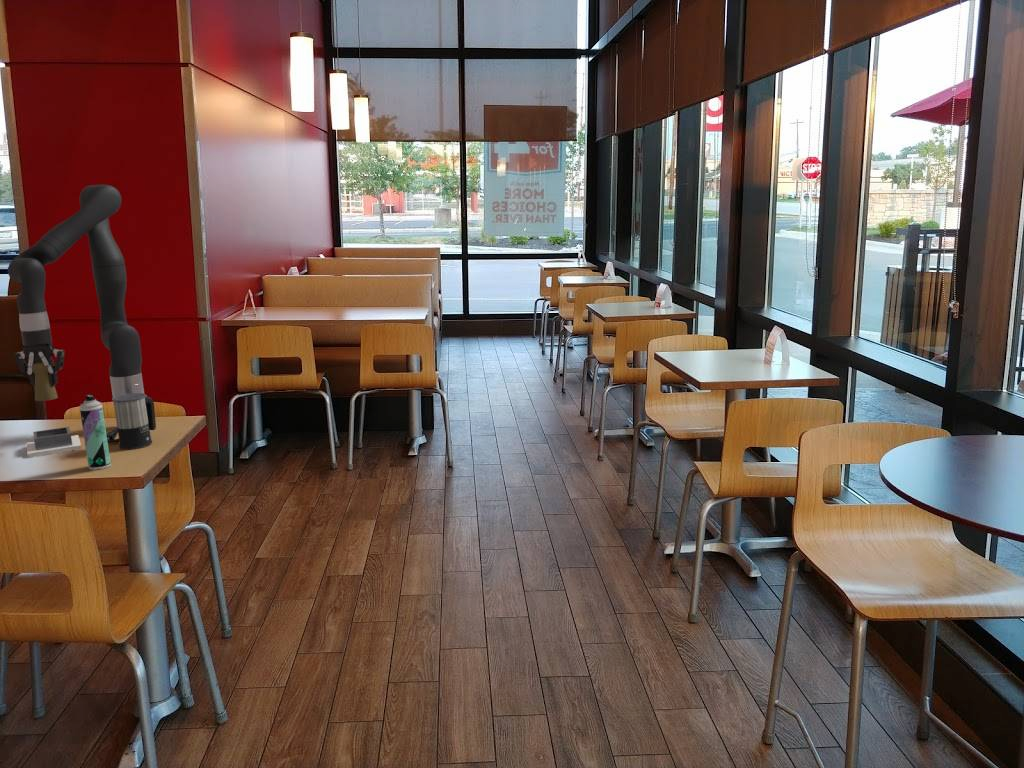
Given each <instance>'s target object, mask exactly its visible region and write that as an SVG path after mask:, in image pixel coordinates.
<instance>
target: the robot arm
mask: <svg viewBox="0 0 1024 768" xmlns="http://www.w3.org/2000/svg"><path fill="white" fill-rule="evenodd" d="M79 206H80V209H79V210H78V211H77V212H76V213H74V214H72V215H71V216H70V217H68V218H67V219H65V220H63V221H61V222H60V223H58V224H56V225H55V226H54V227H52V228H51V229H50V230H48V231H47V232H46V233H45V234H44V235H43V236H42V237H40V239H38V241H36V242H35V243H34V245H32V246H30V247H29V248H27V249H26V250H23V252H21V253H19V254H18V255H16V257H14V258H13V259H12V260H11V261H10V262H9V264H8V267H7V275H8V277H9V278H10V279H11V280H12V281H14V282H16V283H20V285H21V286H20V290H21V291H20V293H18V294H16V295H17V297H16V303H17V309H18V310H17V311H18V316H19V319H18V320H19V329H20V334H21V339H22V346H23V349H22V351H18V352H15V353H13V358H14V360H15V362H16V364H17V366H18V368H19V370H20V372H21V373H22V374H27V375H28V377H29V382H30V386H32V388H35V374H34V373H33V371H32V365H33V363H38V362H43V363H44V365H45V366H47V367H48V371H49V373H50V374H49V378H50V384H51V386H55V387H56V385H57V383H58V382H59V379H58V374H57V372H58V371H60V370H62V369H63V368H64V361H65V354H66V351H65V349H56V348H55V347H54V344H53V339H52V338H53V337H52V333H51V326H50V325H51V324H50V320H49V315H48V312H47V307H46V300H45V290H46V271H45V268H44V267H45V266H46V265H49V264H53V263H55V262H56V261H57V260H59V259H60V258H61V256H63V255H64V254H65V253H66V252H67V251H68V250H69V249H70V248H71V247H72V246H73V245H74V244H75V243H76V242H78V241H79V240H80V239H81V238H82V237H84V236H85V235H86V234H87V239H88V240H87V241H88V247H89V253H90V259H91V268H92V274H93V280H94V284H95V291H96V295H97V296H96V297H97V300H98V306H99V313H100V314H99V315H100V337H101V338H100V339H101V342H102V344H103V345H104V347H105V348H106V349H107V350H109V354H110V366H109V368H108V371H109V373H108V374H109V380H110V385H111V394H112V398H114V397H116V396H120V395H125V394H132V393H143V394H145V389H144V381H143V375H142V363H143V356H142V346H141V339H140V335H139V333H138V330H136V329H135V327H133V326H132V325H129V323H128V321H127V315H126V311H125V299H126V298H125V297H126V292H127V282H128V281H127V280H128V279H127V268H126V265H125V258H124V255H123V254H122V252H121V249H120V247H119V245H118V243H117V242H116V241H115V238H114V237H113V234H112V231H111V226H110V220H109V218H110V217H111V216H112V215H114V214H116V213H117V212H118V211H119V210H120V208H121V206H122V196H121V193H120V191H119V190H118V189H117V188H115V187H114V186H112V185H108V184H92V185H87V186H85V187H84V188H82V190H81V192H80V194H79ZM53 355H54V357H55V360H54V359H53ZM25 357H26V358H27V359H28V363H27V362H26V359H25ZM145 396H147V394H145ZM147 397H148V396H147ZM113 408H114V407H113ZM114 410H115V408H114ZM114 416H115V417H116V415H114ZM115 423H116V425H117V422H116V421H115Z"/></svg>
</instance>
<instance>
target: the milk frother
mask: <svg viewBox="0 0 1024 768" xmlns="http://www.w3.org/2000/svg"><path fill="white" fill-rule="evenodd" d="M145 395H146V394H145V393H144V394H143V393H132V394H125V395H120V396H116V397H114V398H113V397H112V399H111V400H112V402H113V408H115V409H114V413H115V415H116V416H115V415H114V416H115V423H116V422H117V424H116V427H117V428H114V429H112V430H110V431H108V432H106V435H107V442H108V444H118V448H119V449H121V450H136V449H141V448H145V447H148V446H150V445H152V444H153V440H152V436H151V431H155V430H156V427H157V424H156V423H157V422H156V421H157V420H156V412H155V403H154V400H153V398H152V397H150V396H145ZM117 436H118V438H116V437H117Z"/></svg>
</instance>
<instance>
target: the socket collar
mask: <svg viewBox="0 0 1024 768" xmlns="http://www.w3.org/2000/svg"><path fill="white" fill-rule="evenodd" d="M32 435H33V442H34V443H35V449H36V451H37V450H43V449H50V448H56V447H63V446H69V445H72V439H71V436H72V434H71V430H70V426H65V427H58V428H57V427H56V428H50V429H43V430H37V431H33V434H32Z"/></svg>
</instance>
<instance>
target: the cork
mask: <svg viewBox="0 0 1024 768" xmlns="http://www.w3.org/2000/svg"><path fill="white" fill-rule="evenodd" d="M32 371H33V373H34V374H35V387H34V401H36V402H45V401H47V402H48V401H51V400H56V399H58V397H59V396H58V393H57V392H58V391H57V390H56V385H55V386H51V384H50V378H49V374H50V373H49V371H48V367H47V366H45V365H44V363H43V362H38V363H33V365H32Z"/></svg>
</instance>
